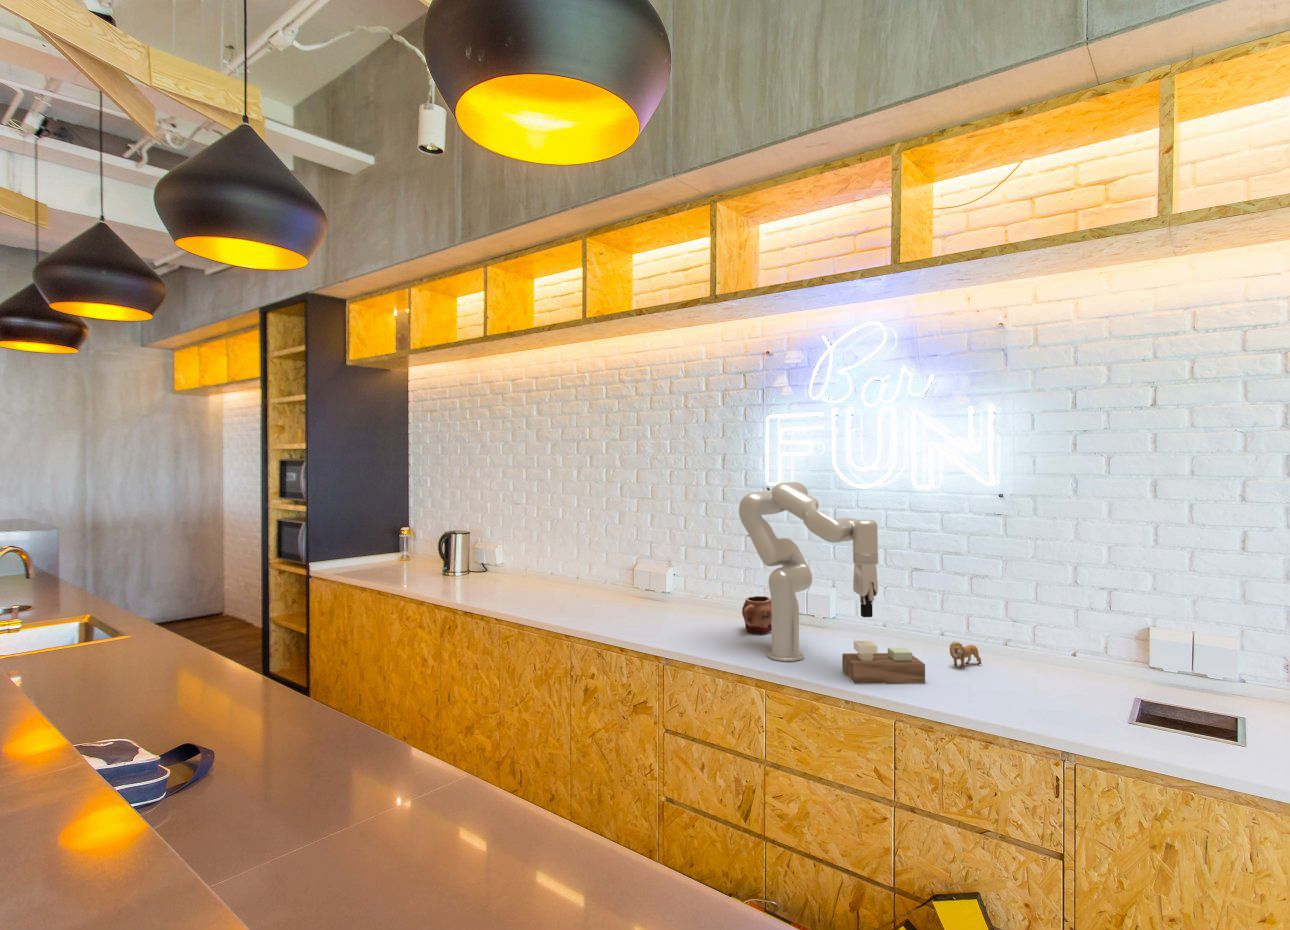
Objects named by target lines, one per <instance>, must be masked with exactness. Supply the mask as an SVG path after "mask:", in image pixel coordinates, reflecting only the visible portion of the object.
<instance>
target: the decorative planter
mask: <svg viewBox="0 0 1290 930" xmlns="http://www.w3.org/2000/svg"><path fill="white" fill-rule="evenodd" d="M741 615H742V617H743V620H744V621H743V622H744V625H745V630H746V632H747V633H749V632H750V633H749V634H753V633H755V635H764V634H765V633H766V634H770V633H772V613H771V597H769V596H759V595H758V596H757V595H755V596H750V597H749V596H748V597H746V599H745V601H744V604H743V606H742V609H741ZM766 634H765V635H766Z"/></svg>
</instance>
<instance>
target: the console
mask: <svg viewBox="0 0 1290 930" xmlns="http://www.w3.org/2000/svg"><path fill="white" fill-rule="evenodd" d="M841 656H842V671H843V672H844V673H845V674H846V675H847V676H848V677H849V678H850V679H851V680H852V681H853V682H854V683H886V684H885V685H893V684H895V685H902V684H901V683H925V684H926V663H924V662H922V661H921V660H920V659H919V658H917V657H916V656H914V655H913V654H912V660H908V661H894V660H893V659H892V658H891V657H889V656H888V652H886V653H885V652H882V653H881V652H877V654H873V661H860V660H859V659H858V652H857V653H854V652H852V653H851V652H850V653H847V652H846V653H842V655H841ZM843 672H842V673H843ZM844 673H843V674H844ZM845 674H844V675H845ZM846 675H845V676H846ZM847 676H846V677H847ZM848 677H847V678H848ZM849 678H848V679H849ZM850 679H849V680H850ZM851 680H850V681H851ZM852 681H851V682H852ZM853 682H852V683H853ZM854 683H853V684H854Z"/></svg>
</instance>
